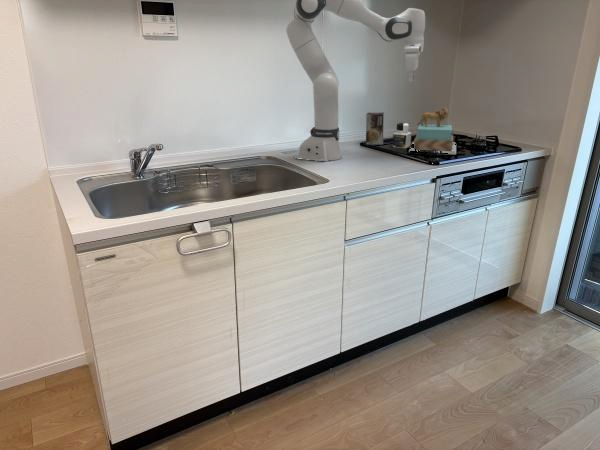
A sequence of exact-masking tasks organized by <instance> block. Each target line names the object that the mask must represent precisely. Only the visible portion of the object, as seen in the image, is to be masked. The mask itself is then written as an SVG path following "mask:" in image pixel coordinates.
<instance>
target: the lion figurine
mask: <svg viewBox="0 0 600 450" xmlns="http://www.w3.org/2000/svg"><path fill="white" fill-rule="evenodd" d="M421 115H422V116H421V118H420V121H419V122H418V123H417V126H419V125H420V124H421V125H425V126H426V127H428V125H429V124H427V122H428V120H429V121H433V122H434V121H436V125H437V126H438V127H441V126H440V125H441V121H444V120H445V119H447V118H448V116H449V108H447V107H442V108H441V109H439V110H437V111H436V112H435V113H433V112H428V111H427V112H424V113H423V114H421ZM423 123H424V124H423Z"/></svg>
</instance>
